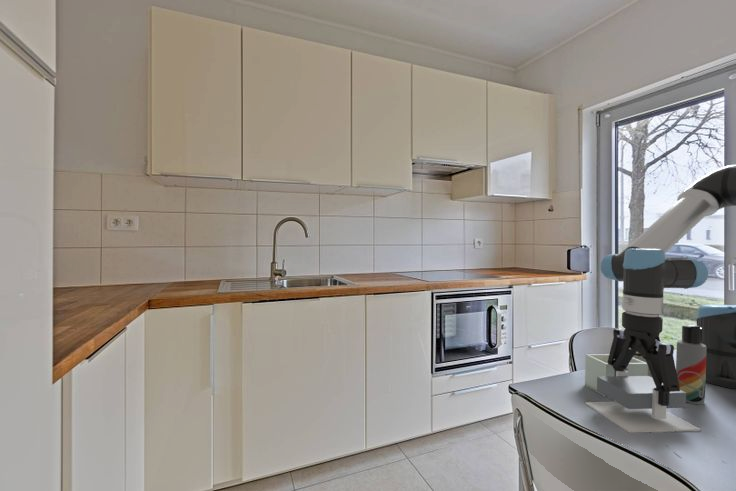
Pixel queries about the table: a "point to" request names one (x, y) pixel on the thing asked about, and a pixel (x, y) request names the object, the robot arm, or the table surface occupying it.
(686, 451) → the table surface
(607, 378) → the lid
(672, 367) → the robot arm
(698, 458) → the table surface
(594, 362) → the storage box
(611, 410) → the mat
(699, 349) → the lotion bottle
